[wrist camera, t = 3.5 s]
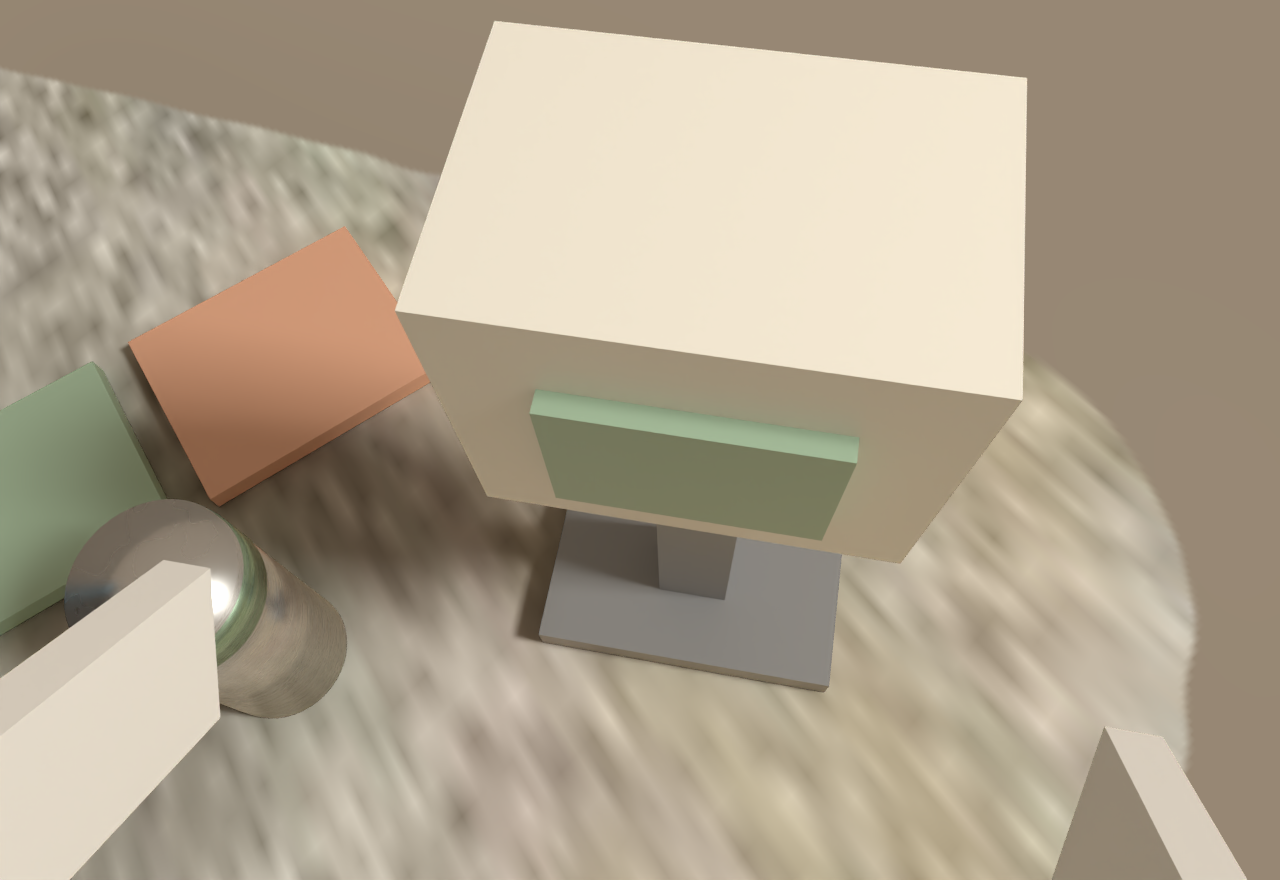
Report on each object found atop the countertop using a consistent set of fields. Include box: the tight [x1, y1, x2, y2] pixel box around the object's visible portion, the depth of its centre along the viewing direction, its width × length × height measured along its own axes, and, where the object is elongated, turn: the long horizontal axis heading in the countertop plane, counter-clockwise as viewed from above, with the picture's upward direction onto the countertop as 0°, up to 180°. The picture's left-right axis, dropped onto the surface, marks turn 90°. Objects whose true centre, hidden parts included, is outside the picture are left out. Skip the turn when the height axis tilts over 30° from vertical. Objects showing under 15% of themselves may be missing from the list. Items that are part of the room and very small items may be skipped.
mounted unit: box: [395, 21, 1027, 692], centre depth 32 cm, size 9×13×28 cm
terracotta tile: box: [128, 226, 430, 506], centre depth 49 cm, size 11×13×1 cm
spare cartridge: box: [64, 499, 347, 719], centre depth 38 cm, size 6×6×12 cm
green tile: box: [0, 361, 167, 635], centre depth 46 cm, size 11×13×1 cm
